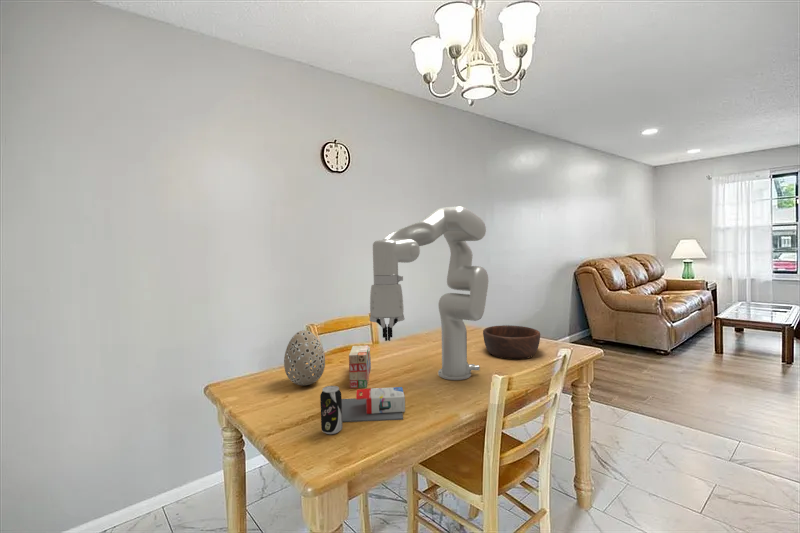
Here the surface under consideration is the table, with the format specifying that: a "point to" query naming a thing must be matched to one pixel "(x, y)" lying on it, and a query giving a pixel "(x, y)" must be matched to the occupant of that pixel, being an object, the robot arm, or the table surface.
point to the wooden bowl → (511, 341)
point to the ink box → (383, 399)
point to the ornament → (304, 358)
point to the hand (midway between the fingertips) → (387, 339)
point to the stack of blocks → (359, 366)
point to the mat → (364, 412)
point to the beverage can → (331, 410)
